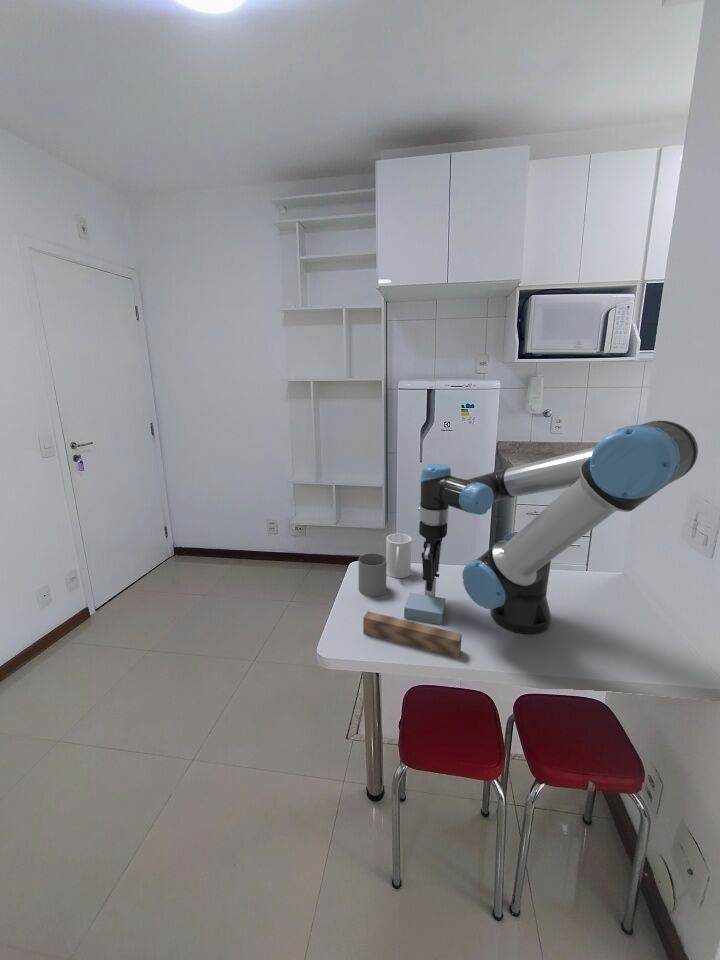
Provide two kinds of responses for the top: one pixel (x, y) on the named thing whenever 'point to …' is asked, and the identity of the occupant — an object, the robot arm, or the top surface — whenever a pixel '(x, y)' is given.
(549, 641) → the top surface
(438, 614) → the block
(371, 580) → the cup
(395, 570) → the mug
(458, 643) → the brown wooden bar
